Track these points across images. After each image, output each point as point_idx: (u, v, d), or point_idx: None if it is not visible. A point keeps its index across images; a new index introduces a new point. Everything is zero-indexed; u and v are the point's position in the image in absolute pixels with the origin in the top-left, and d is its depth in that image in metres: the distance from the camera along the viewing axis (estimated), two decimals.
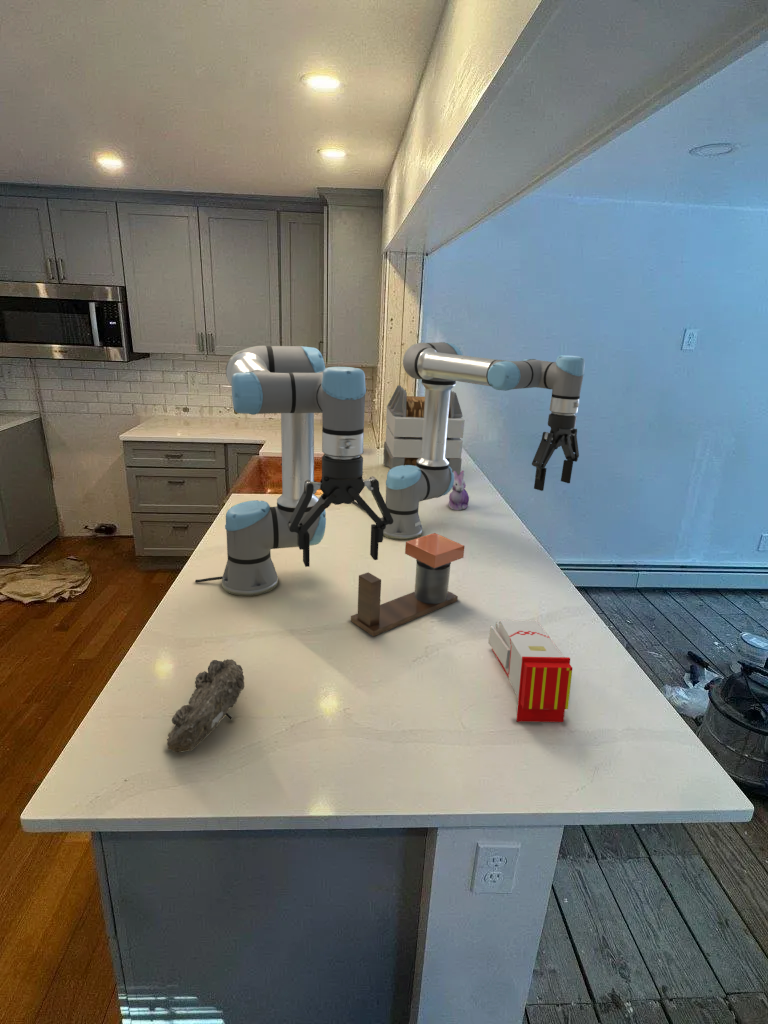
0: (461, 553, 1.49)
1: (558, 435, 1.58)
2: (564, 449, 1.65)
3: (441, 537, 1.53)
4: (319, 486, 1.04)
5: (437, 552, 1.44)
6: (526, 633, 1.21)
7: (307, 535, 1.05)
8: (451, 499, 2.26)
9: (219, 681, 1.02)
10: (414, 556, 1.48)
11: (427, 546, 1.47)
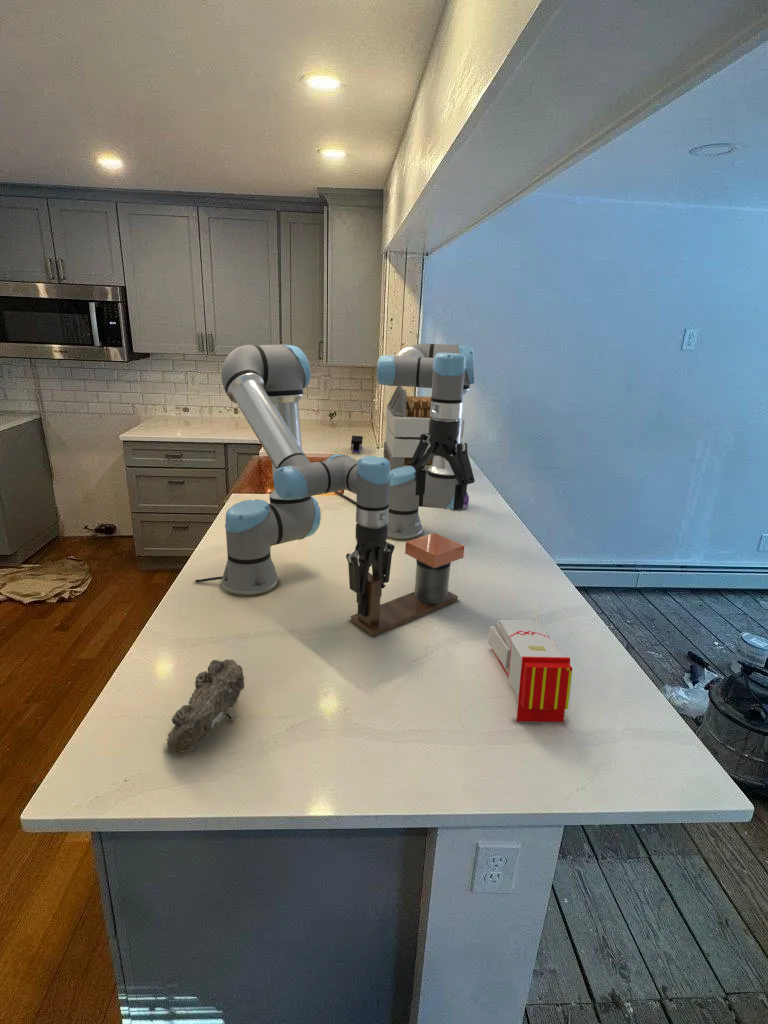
0: (461, 553, 1.49)
1: (432, 441, 1.41)
2: None
3: (441, 537, 1.53)
4: (357, 551, 1.31)
5: (437, 552, 1.44)
6: (526, 633, 1.21)
7: (366, 593, 1.36)
8: None
9: (219, 681, 1.02)
10: (414, 556, 1.48)
11: (427, 546, 1.47)
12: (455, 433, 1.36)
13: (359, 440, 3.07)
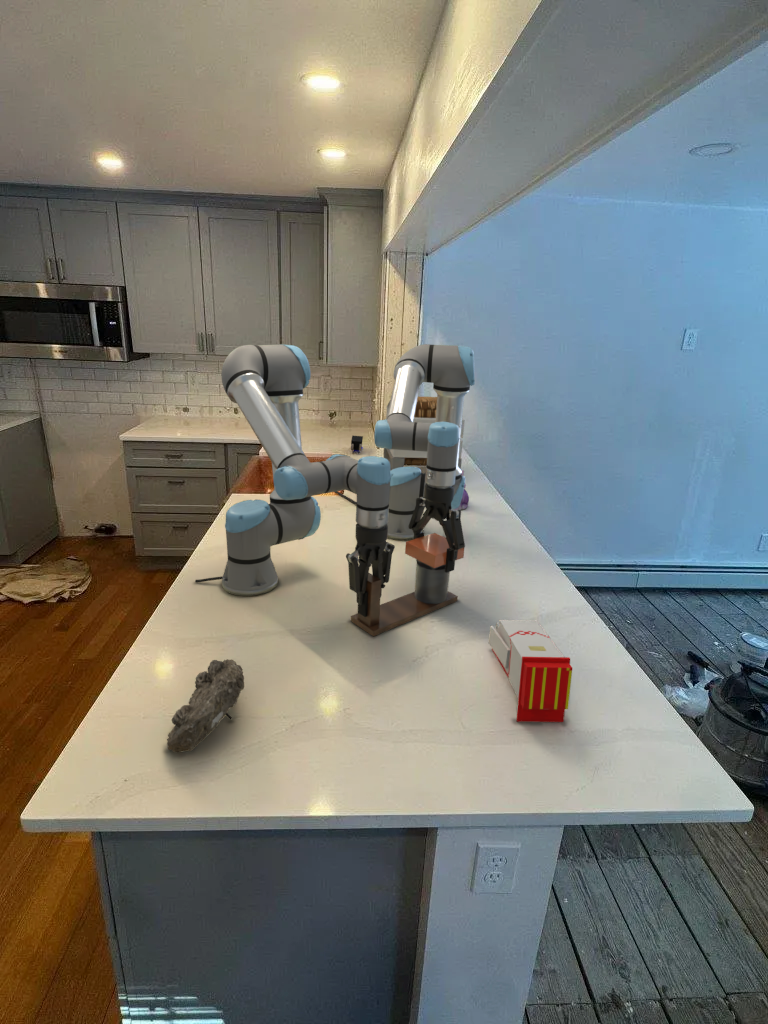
0: (461, 553, 1.49)
1: (428, 504, 1.47)
2: None
3: (441, 537, 1.53)
4: (357, 551, 1.31)
5: (437, 552, 1.44)
6: (526, 633, 1.21)
7: (366, 593, 1.36)
8: None
9: (219, 681, 1.02)
10: (414, 556, 1.48)
11: (427, 546, 1.47)
12: (449, 499, 1.42)
13: (359, 440, 3.07)
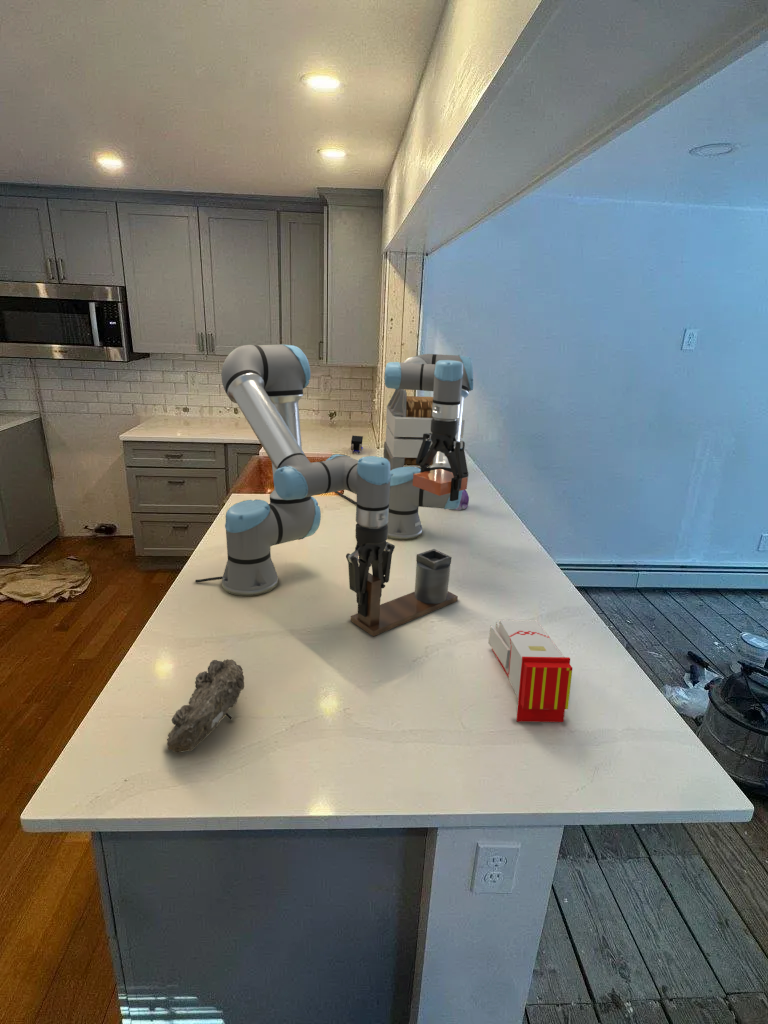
0: (465, 484, 1.61)
1: (434, 438, 1.59)
2: None
3: (446, 471, 1.65)
4: (357, 551, 1.31)
5: (442, 481, 1.56)
6: (526, 633, 1.21)
7: (366, 593, 1.36)
8: None
9: (219, 681, 1.02)
10: (421, 487, 1.60)
11: (434, 477, 1.59)
12: (454, 431, 1.54)
13: (359, 440, 3.07)
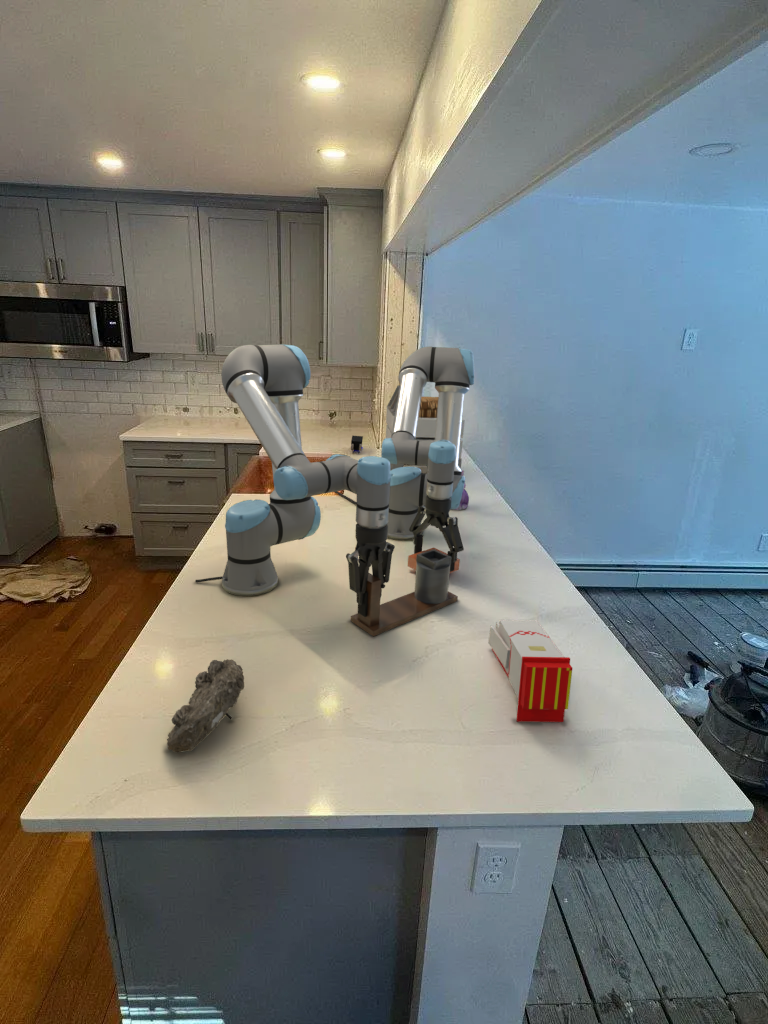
0: (457, 566, 1.69)
1: (428, 513, 1.66)
2: None
3: None
4: (357, 551, 1.31)
5: None
6: (526, 633, 1.21)
7: (366, 593, 1.36)
8: None
9: (219, 681, 1.02)
10: (415, 568, 1.69)
11: None
12: (447, 509, 1.62)
13: (359, 440, 3.07)
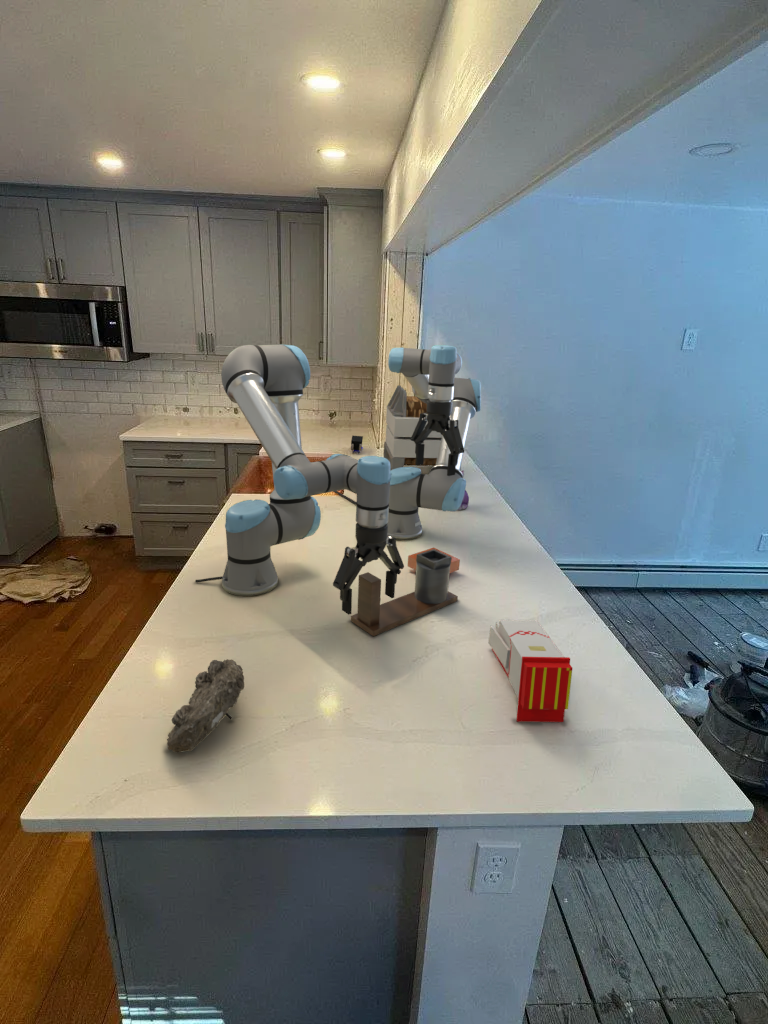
0: (457, 566, 1.69)
1: (429, 418, 1.70)
2: None
3: None
4: (357, 550, 1.31)
5: None
6: (526, 633, 1.21)
7: (350, 590, 1.32)
8: None
9: (219, 681, 1.02)
10: (415, 568, 1.69)
11: None
12: (448, 411, 1.65)
13: (359, 440, 3.07)
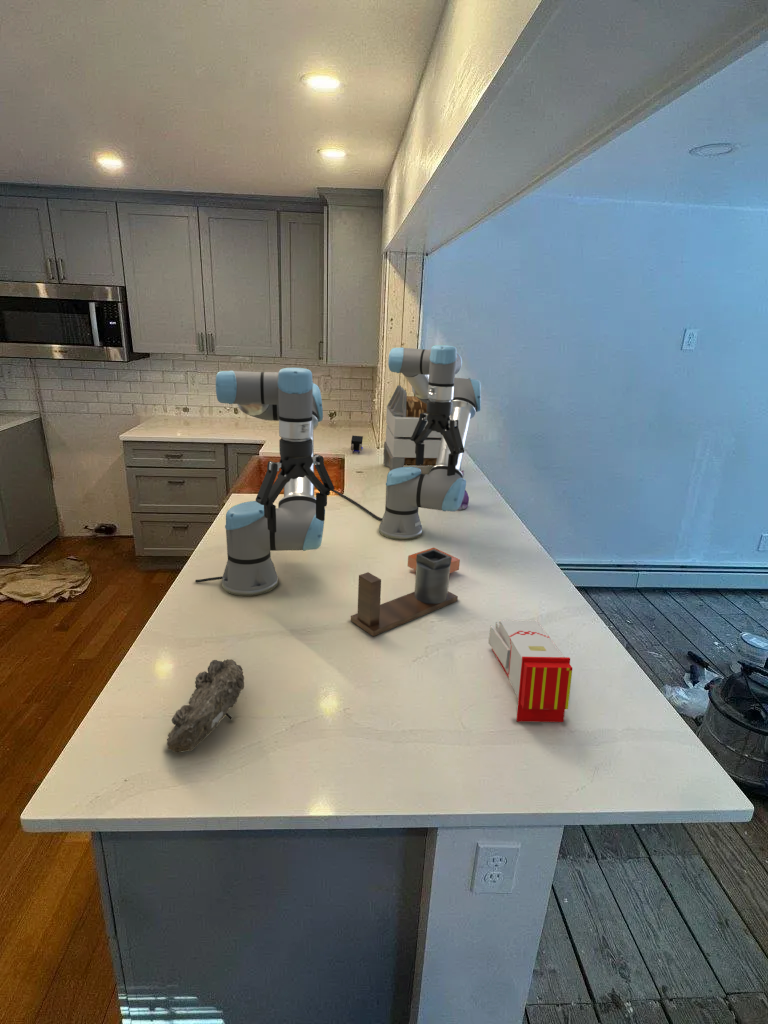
0: (457, 566, 1.69)
1: (429, 418, 1.70)
2: None
3: None
4: (280, 465, 1.28)
5: None
6: (526, 633, 1.21)
7: (274, 506, 1.29)
8: None
9: (219, 681, 1.02)
10: (415, 568, 1.69)
11: None
12: (448, 411, 1.65)
13: (359, 440, 3.07)
